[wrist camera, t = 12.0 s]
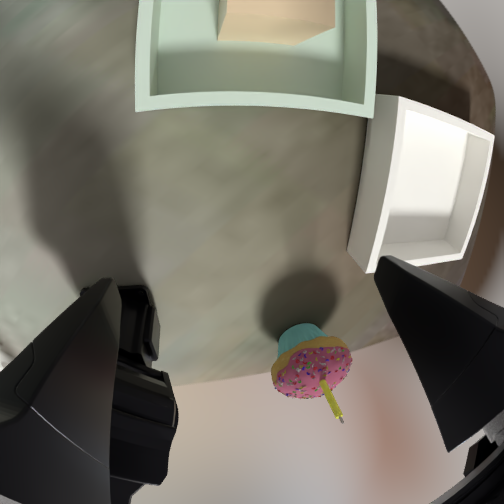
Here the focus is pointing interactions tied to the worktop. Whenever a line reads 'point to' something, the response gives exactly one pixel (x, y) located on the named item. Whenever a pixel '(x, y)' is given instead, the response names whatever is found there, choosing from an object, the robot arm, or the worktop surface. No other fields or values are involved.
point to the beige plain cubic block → (274, 20)
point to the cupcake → (310, 364)
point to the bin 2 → (418, 184)
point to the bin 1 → (253, 62)
